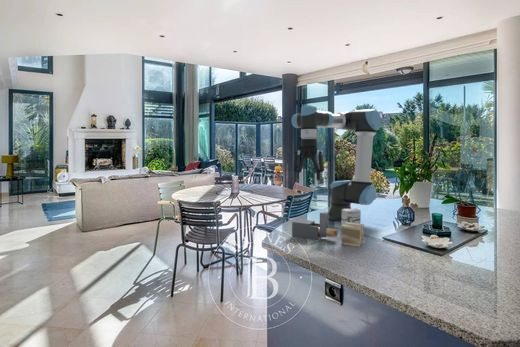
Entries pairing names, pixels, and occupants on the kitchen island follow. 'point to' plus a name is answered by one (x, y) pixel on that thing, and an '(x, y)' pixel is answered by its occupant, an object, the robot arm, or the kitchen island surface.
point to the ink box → (350, 216)
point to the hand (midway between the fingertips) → (308, 186)
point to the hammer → (326, 226)
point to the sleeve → (305, 229)
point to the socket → (352, 234)
